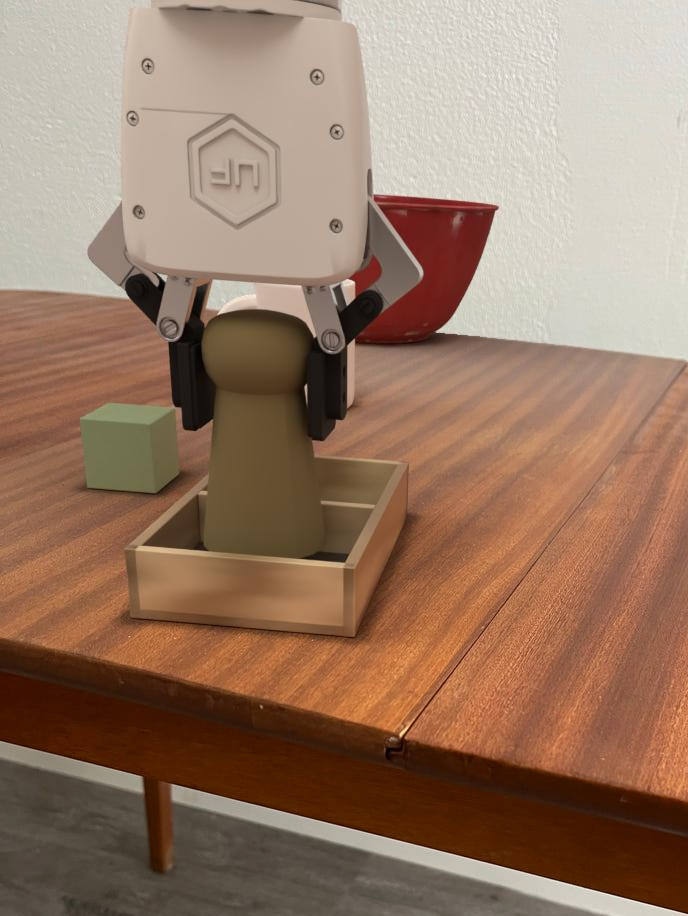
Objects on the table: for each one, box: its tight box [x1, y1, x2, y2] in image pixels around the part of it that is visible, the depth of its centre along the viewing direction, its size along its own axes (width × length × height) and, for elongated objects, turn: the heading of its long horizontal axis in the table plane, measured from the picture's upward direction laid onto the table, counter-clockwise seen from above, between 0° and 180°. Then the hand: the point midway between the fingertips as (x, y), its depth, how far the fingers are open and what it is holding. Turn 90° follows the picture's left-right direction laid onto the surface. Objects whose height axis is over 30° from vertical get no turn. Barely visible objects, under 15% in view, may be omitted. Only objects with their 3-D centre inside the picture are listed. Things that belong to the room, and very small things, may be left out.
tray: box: [123, 454, 410, 638], centre depth 55 cm, size 11×18×4 cm, turn 176°
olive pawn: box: [201, 309, 327, 559], centre depth 49 cm, size 6×6×11 cm
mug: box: [216, 279, 356, 409], centre depth 86 cm, size 12×8×10 cm
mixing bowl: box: [348, 193, 500, 344], centre depth 120 cm, size 28×28×15 cm
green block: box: [79, 402, 180, 494], centre depth 66 cm, size 4×4×4 cm
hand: (261, 425), depth 49 cm, fingers closed on olive pawn, 5 cm apart
